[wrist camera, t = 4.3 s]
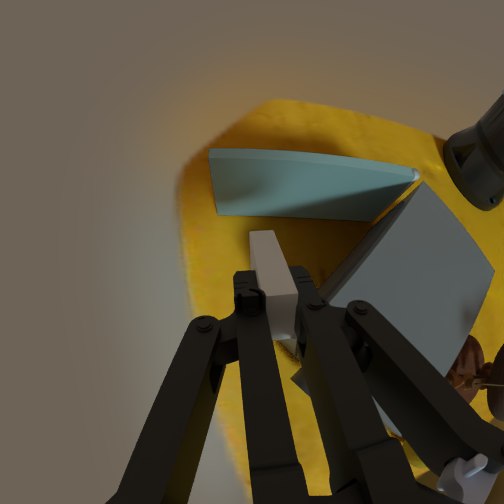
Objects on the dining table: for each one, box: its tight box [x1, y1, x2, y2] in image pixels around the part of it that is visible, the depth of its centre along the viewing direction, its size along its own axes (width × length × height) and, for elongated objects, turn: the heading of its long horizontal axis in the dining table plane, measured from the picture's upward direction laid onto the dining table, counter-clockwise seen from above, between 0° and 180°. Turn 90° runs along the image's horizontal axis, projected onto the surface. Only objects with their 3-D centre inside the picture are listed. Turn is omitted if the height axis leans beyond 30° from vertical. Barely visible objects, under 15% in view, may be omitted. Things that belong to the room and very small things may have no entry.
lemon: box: [403, 440, 429, 469], centre depth 19 cm, size 6×6×8 cm
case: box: [278, 181, 495, 437], centre depth 22 cm, size 20×12×11 cm, turn 134°
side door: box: [208, 148, 420, 222], centre depth 26 cm, size 19×2×11 cm, turn 89°
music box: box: [445, 335, 504, 421], centre depth 17 cm, size 15×11×20 cm
